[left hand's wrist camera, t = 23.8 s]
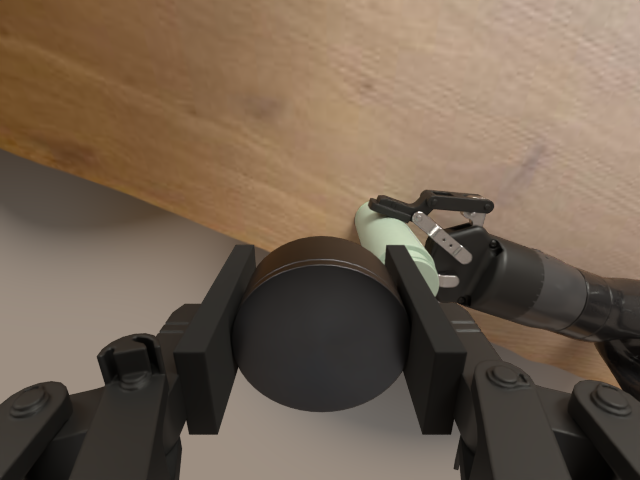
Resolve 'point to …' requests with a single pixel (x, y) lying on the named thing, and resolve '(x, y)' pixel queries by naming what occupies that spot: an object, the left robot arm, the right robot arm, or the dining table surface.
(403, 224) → the jar
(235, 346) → the lid
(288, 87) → the dining table surface
